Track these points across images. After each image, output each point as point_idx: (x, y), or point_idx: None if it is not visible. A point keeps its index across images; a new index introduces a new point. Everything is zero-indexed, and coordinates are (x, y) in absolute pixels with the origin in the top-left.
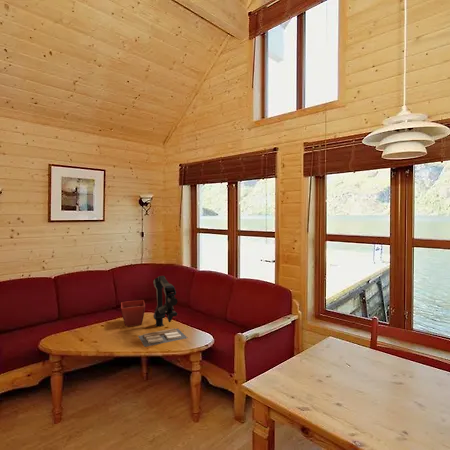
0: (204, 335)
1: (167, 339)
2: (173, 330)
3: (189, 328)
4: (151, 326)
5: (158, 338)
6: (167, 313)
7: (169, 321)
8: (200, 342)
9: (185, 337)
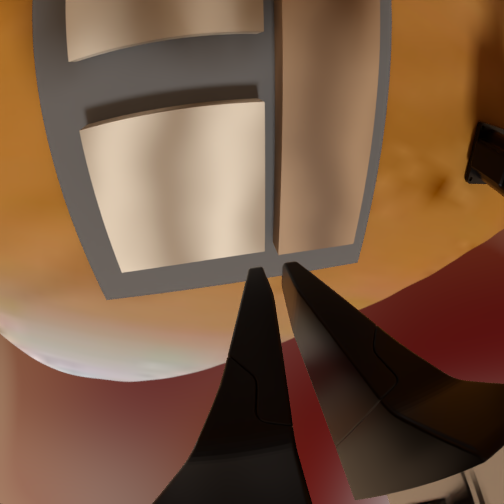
0: (145, 372)
1: (114, 114)
2: (304, 223)
3: None
4: (501, 98)
5: (115, 3)
6: (413, 467)
7: (245, 290)
8: (40, 339)
9: (121, 287)
